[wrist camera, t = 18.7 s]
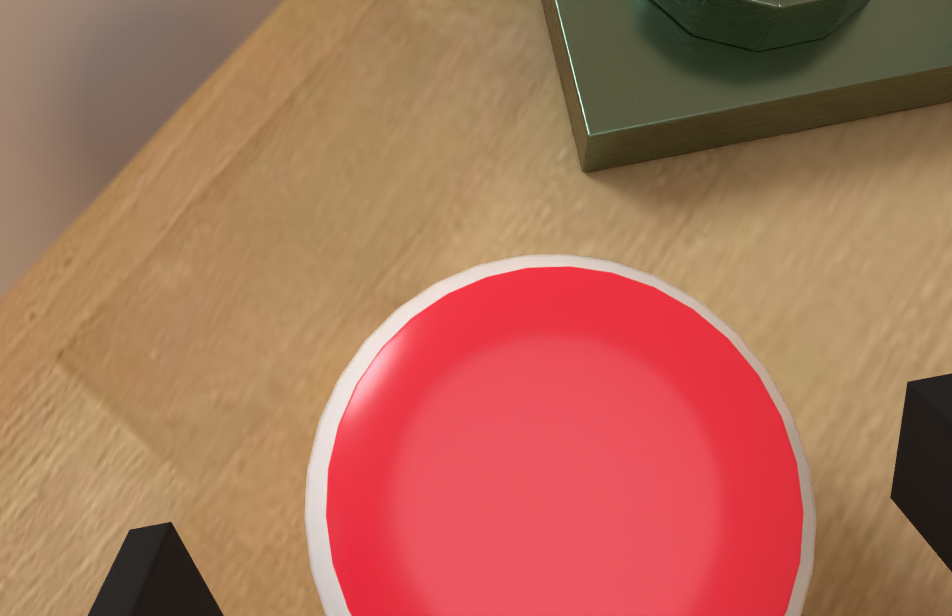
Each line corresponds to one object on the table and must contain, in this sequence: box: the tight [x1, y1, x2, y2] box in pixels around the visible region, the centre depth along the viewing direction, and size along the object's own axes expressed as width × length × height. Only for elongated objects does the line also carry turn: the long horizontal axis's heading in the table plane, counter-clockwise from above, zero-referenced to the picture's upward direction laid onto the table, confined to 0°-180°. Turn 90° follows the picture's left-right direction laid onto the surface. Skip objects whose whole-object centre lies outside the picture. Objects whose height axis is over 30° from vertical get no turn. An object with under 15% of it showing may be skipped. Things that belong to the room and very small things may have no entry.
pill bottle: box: [304, 254, 817, 616], centre depth 13 cm, size 8×8×11 cm
